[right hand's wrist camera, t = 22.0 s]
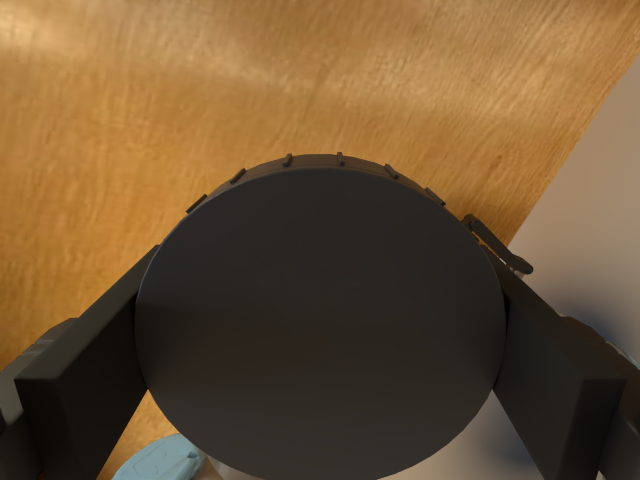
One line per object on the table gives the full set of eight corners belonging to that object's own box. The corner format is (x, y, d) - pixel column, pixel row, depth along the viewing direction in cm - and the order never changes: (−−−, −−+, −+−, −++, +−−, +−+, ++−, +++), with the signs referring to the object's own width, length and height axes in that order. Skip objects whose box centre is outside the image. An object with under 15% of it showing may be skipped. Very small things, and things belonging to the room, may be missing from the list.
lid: (136, 393, 13) (105, 445, 11) (197, 100, 10) (168, 103, 8) (406, 460, 14) (420, 519, 12) (536, 211, 11) (582, 238, 9)
